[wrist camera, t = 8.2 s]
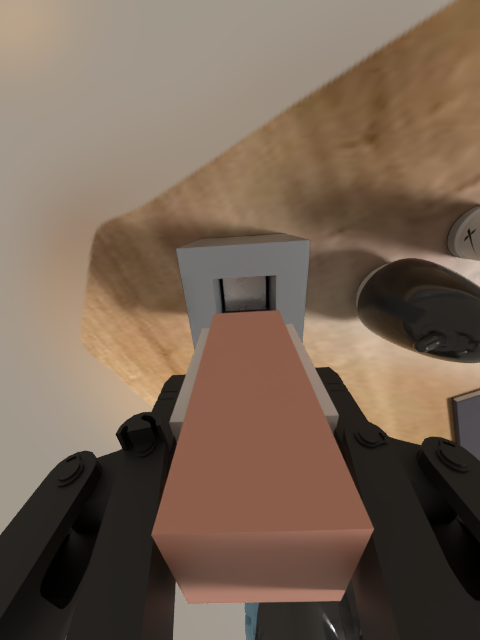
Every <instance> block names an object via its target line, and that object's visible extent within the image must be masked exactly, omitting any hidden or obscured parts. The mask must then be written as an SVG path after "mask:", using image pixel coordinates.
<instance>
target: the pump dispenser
mask: <svg viewBox="0 0 480 640" xmlns="http://www.w3.org/2000/svg"><path fill="white" fill-rule="evenodd" d="M356 307H357V311H358V315H359V318H360V320H361V322H362V323H363V325H364V326H365V327H366V328H368V329H369V330H370V331H372V332H373V333H374V334H376V335H378V336H380V337H381V338H383V339H385V340H387V341H389V342H391V343H393V344H395V345H398V346H400V347H402V348H405V349H408V350H410V351H413V352H416V353H419V354H422V355H425V356H428V357H432V358H436V359H440V360H445V361H451V362H459V363H480V286H478V285H477V284H475V283H474V282H472V281H471V280H469V279H467V278H466V277H464V276H462V275H460V274H459V273H457V272H455V271H453V270H450V269H448V268H446V267H444V266H441V265H439V264H436V263H434V262H431V261H427V260H423V259H418V258H406V259H401V260H397V261H394V262H391V263H388V264H385V265H382V266H380V267H379V268H377V269H375V270H374V271H372V272H371V273H370V274H369V275H368V276H367V277H366V278H365V279H364V280H363V282H362V283H361V285H360V287H359V289H358V291H357V295H356Z"/></svg>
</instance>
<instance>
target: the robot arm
mask: <svg viewBox="0 0 480 640" xmlns="http://www.w3.org/2000/svg"><path fill="white" fill-rule="evenodd" d="M285 325H286V328H287V330H288V332H289V335H290V337H291V339H292V341H293V344H294V346H295V348H296V351H297V353H298V355H299V357H300V360H301V362H302V364H303V367H304V369H305V371H306V374H307V376H308V378H309V380H310V383H311V385H312V387H313V390H314V392H315V394H316V397H317V399H318V401H319V403H320V406H321V408H322V410H323V413H324V415H325V417H326V420H327V422H328V424H329V426H330V429H331V431H332V433H333V436H334V438H335V440H336V443H337V445H338V447H339V449H340V452H341V454H342V456H343V459H344V461H345V463H346V466H347V468H348V470H349V472H350V475H351V477H352V479H353V482H354V484H355V486H356V489H357V491H358V493H359V495H360V498H361V500H362V502H363V505H364V507H365V509H366V512H367V514H368V516H369V518H370V521H371V523H372V525H373V528H374V530H373V532H372V534H371V537H370V539H369V541H368V543H367V545H366V547H365V550H364V552H363V554H362V556H361V558H360V560H359V562H358V565H357V567H356V569H355V571H354V573H353V575H352V578H351V580H350V582H349V584H348V586H347V588H346V591H345V593H344V595H343V597H342V599H341V601H310V602H254V603H245V613H246V615H245V632H246V640H480V461H479V460H478V459H477V458H476V457H475V456H474V455H472V454H471V453H470V452H469V451H467V450H466V449H465V448H463V447H462V446H460V445H458V444H456V443H454V442H453V441H450V440H447V439H444V438H441V437H429V438H426V439H425V440H424V441H423V443H422V445H418V444H414V443H410V442H405V441H401V440H397V439H394V438H391V437H389V436H387V434H386V433H385V432H384V431H383V430H382V429H380V428H379V427H378V426H376V425H374V424H372V423H370V422H368V420H367V419H366V417H365V416H364V414H363V413H362V411H361V410H360V408H359V406H358V405H357V403H356V402H355V400H354V399H353V397H352V395H351V394H350V392H348V389H347V388H346V386H345V385H344V384H343V381H342V380H341V378H340V377H339V375H338V374H337V373H336V372H334V371H333V370H332V369H331V368H329V367H322V368H315V367H314V365H313V363H312V361H311V359H310V357H309V355H308V353H307V351H306V350H305V348H304V346H303V344H302V342H301V340H300V338H299V336H298V334H297V332H296V330H295V328H294V326H293V324H285ZM209 329H210V328H205V329H202V331H201V334H200V337H199V339H198V342H197V345H196V348H195V351H194V354H193V356H192V359H191V362H190V365H189V368H188V371H187V373H186V375H172V376H171V377H170V378H169V379H168V380H167V381H166V382H165V384H164V386H163V388H162V390H161V393H160V395H159V397H158V400H157V401H156V403H155V405H154V408H153V410H152V412H143V413H140V414H137V415H134V416H132V417H131V418H129V419H128V420H126V421H125V422H124V423H123V424H122V425H121V426H120V428H119V429H118V431H117V433H116V436H117V438H118V440H119V442H120V444H121V446H122V449H121V450H119V451H117V452H113V453H110V454H108V455H104V456H101V457H99V458H96V456H95V455H94V454H93V452H89V451H82V452H77V453H75V454H73V455H71V456H69V457H67V458H66V459H64V460H63V461H61V462H60V463H59V464H58V465H57V466H56V467H55V468H54V469H53V470H52V471H51V472H50V473H49V474H48V476H47V477H46V478H45V479H44V481H43V482H42V483H41V484H40V486H39V487H38V488H37V489H36V491H35V492H34V493H33V495H32V496H31V497H30V498H29V500H28V501H27V502H26V503H25V505H24V506H23V507H22V508H21V510H20V511H19V512H18V513H17V515H16V516H15V517H14V518H13V520H12V521H11V522H10V524H9V525H8V526H7V527H6V529H5V530H4V531H3V532H2V534H1V535H0V640H65V638H66V640H173V623H174V602H175V583H176V580H175V578H174V576H173V574H172V573H171V571H170V569H169V567H168V565H167V563H166V561H165V560H164V558H163V556H162V554H161V552H160V550H159V548H158V546H157V545H156V543H155V541H154V539H153V537H152V535H151V534H152V531H153V527H154V524H155V520H156V517H157V513H158V509H159V506H160V502H161V499H162V495H163V492H164V488H165V485H166V481H167V478H168V474H169V471H170V467H171V464H172V460H173V457H174V453H175V449H176V446H177V442H178V439H179V435H180V432H181V428H182V425H183V421H184V418H185V414H186V411H187V407H188V404H189V400H190V397H191V393H192V389H193V386H194V382H195V379H196V375H197V372H198V368H199V365H200V361H201V358H202V354H203V351H204V347H205V344H206V340H207V336H208V333H209ZM66 636H67V637H66Z"/></svg>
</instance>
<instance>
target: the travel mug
mask: <svg viewBox="0 0 480 640" xmlns="http://www.w3.org/2000/svg"><path fill="white" fill-rule="evenodd" d="M447 244H448V249H449V251H450V252H451V253H452V255H454V256H456V257H459V258H465V259H472V260H477V261H480V206H477V207H474V208H472V209H470V210H469V211H467V212H466V213H464V214H463V215H462V216H461V217H460V218H459V219H458V220H457V221H456V222H455V223H454V225H453V227H452V228H451V230H450V233H449V235H448V241H447Z"/></svg>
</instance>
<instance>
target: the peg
mask: <svg viewBox="0 0 480 640" xmlns="http://www.w3.org/2000/svg"><path fill="white" fill-rule="evenodd" d="M373 530H374V528H373V525H372V523H371V521H370V518H369V516H368V514H367V512H366V509H365V507H364V505H363V502H362V500H361V498H360V495H359V493H358V491H357V489H356V486H355V484H354V482H353V479H352V477H351V475H350V472H349V470H348V468H347V466H346V463H345V461H344V459H343V456H342V454H341V452H340V449H339V447H338V445H337V443H336V440H335V438H334V436H333V433H332V431H331V429H330V426H329V424H328V422H327V420H326V417H325V415H324V413H323V410H322V408H321V406H320V403H319V401H318V399H317V397H316V394H315V392H314V390H313V387H312V385H311V383H310V380H309V378H308V376H307V374H306V371H305V369H304V367H303V364H302V362H301V360H300V357H299V355H298V353H297V351H296V348H295V346H294V344H293V341H292V339H291V337H290V335H289V332H288V330H287V328H286V325H285V323H284V321H283V318H282V316H281V314H280V312H279V310H273V311H255V312H237V313H219V314H214V315H213V319H212V322H211V326H210V329H209V333H208V336H207V340H206V344H205V347H204V351H203V354H202V358H201V361H200V365H199V368H198V372H197V375H196V379H195V382H194V386H193V389H192V393H191V397H190V400H189V404H188V407H187V411H186V414H185V418H184V421H183V425H182V428H181V432H180V435H179V439H178V442H177V446H176V449H175V453H174V457H173V460H172V464H171V467H170V471H169V474H168V478H167V481H166V485H165V488H164V492H163V495H162V499H161V502H160V506H159V509H158V513H157V517H156V520H155V524H154V527H153V531H152V534H151V535H152V537H153V539H154V541H155V543H156V545H157V546H158V548H159V550H160V552H161V554H162V556H163V558H164V560H165V561H166V563H167V565H168V567H169V569H170V571H171V573H172V574H173V576H174V578H175V580H176V582H177V584H178V586H179V588H180V589H181V591H182V593H183V595H184V597H185V599H186V601H187V602H188V604H195V603H197V604H198V603H254V602H310V601H341V599H342V597H343V595H344V593H345V591H346V588H347V586H348V584H349V582H350V580H351V578H352V575H353V573H354V571H355V569H356V567H357V565H358V562H359V560H360V558H361V556H362V554H363V552H364V550H365V547H366V545H367V543H368V541H369V539H370V537H371V534H372V532H373Z"/></svg>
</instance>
